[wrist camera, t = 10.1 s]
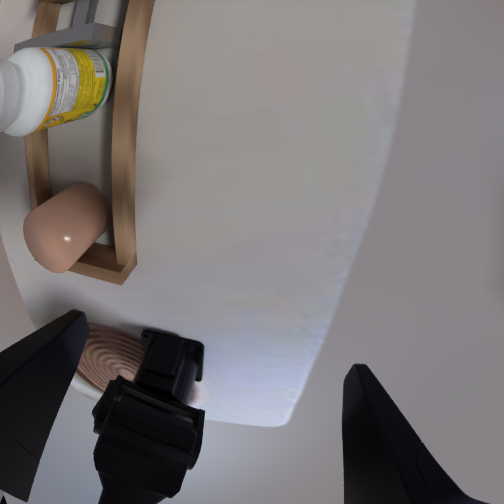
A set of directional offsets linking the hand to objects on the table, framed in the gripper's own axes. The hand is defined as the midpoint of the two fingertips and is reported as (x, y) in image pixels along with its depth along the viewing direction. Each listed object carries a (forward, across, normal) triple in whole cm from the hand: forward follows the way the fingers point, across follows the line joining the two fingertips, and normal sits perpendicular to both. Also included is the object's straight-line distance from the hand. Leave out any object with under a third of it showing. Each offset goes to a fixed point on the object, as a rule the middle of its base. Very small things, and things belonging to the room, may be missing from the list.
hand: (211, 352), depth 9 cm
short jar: (+13, +14, +3) cm, 19 cm away
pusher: (+13, +13, -14) cm, 23 cm away
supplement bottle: (+13, +13, -8) cm, 20 cm away
